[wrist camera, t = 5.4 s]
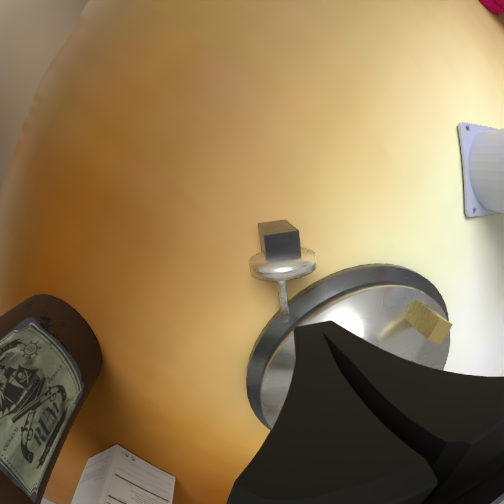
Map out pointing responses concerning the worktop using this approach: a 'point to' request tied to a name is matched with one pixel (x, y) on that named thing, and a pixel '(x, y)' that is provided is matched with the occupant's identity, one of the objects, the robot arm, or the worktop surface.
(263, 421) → the turntable base
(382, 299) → the turntable
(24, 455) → the olive oil
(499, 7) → the pepper mill
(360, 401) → the robot arm
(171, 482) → the supplement box
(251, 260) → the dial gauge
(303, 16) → the worktop surface
